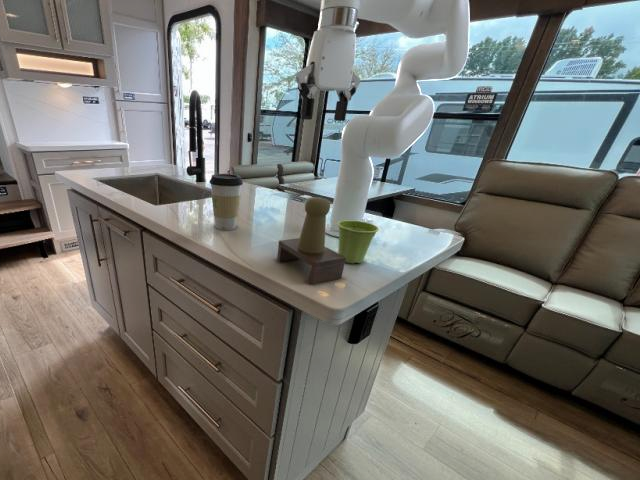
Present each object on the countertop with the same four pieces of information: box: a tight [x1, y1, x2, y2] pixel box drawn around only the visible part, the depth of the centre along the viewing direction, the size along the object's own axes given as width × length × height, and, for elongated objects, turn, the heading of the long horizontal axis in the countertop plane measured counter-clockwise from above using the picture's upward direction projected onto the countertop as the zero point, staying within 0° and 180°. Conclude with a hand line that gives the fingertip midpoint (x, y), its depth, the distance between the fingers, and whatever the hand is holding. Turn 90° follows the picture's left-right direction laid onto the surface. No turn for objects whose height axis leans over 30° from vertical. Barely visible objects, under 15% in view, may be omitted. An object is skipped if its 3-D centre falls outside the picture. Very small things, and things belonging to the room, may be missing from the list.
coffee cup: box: [209, 173, 244, 231], centre depth 95 cm, size 10×10×15 cm
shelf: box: [276, 237, 346, 285], centre depth 72 cm, size 8×14×5 cm, turn 26°
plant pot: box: [337, 220, 380, 264], centre depth 77 cm, size 9×9×9 cm
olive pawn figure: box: [297, 196, 331, 253], centre depth 68 cm, size 6×6×11 cm
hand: (323, 120), depth 73 cm, fingers open, 9 cm apart
